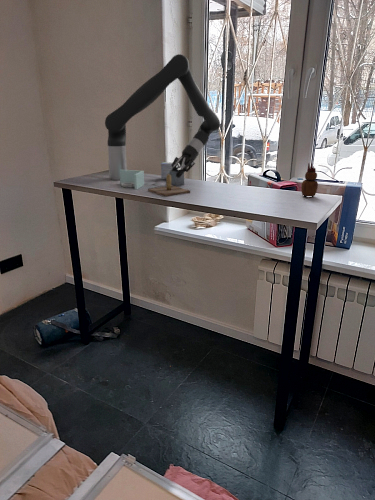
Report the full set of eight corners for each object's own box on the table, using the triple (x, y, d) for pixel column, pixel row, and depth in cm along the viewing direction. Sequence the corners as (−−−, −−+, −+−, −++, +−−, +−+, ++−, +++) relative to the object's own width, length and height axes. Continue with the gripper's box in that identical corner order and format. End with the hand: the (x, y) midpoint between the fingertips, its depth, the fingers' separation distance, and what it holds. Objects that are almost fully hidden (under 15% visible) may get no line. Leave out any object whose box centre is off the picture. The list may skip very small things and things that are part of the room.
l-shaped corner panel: (121, 184, 188) (120, 169, 185) (144, 185, 186) (143, 170, 183) (112, 189, 177) (111, 173, 174) (136, 190, 175) (136, 174, 172)
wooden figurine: (301, 197, 163) (305, 163, 158) (299, 195, 169) (303, 161, 163) (317, 198, 162) (322, 163, 157) (314, 195, 168) (319, 162, 162)
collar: (169, 184, 187) (169, 170, 184) (177, 183, 190) (177, 169, 187) (175, 186, 183) (175, 171, 181) (184, 184, 186) (184, 170, 184)
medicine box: (176, 178, 203) (176, 162, 199) (175, 180, 198) (175, 163, 195) (162, 178, 203) (162, 162, 200) (161, 179, 199) (160, 163, 196)
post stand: (147, 191, 172) (147, 173, 169) (172, 187, 180) (172, 170, 177) (165, 196, 162) (165, 178, 159) (190, 192, 170) (190, 174, 167)
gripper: (180, 143, 189) (161, 169, 186) (198, 145, 179) (178, 173, 176) (188, 153, 194) (169, 178, 191) (206, 156, 184) (187, 182, 181)
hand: (174, 175), depth 184 cm, fingers closed on collar, 5 cm apart
